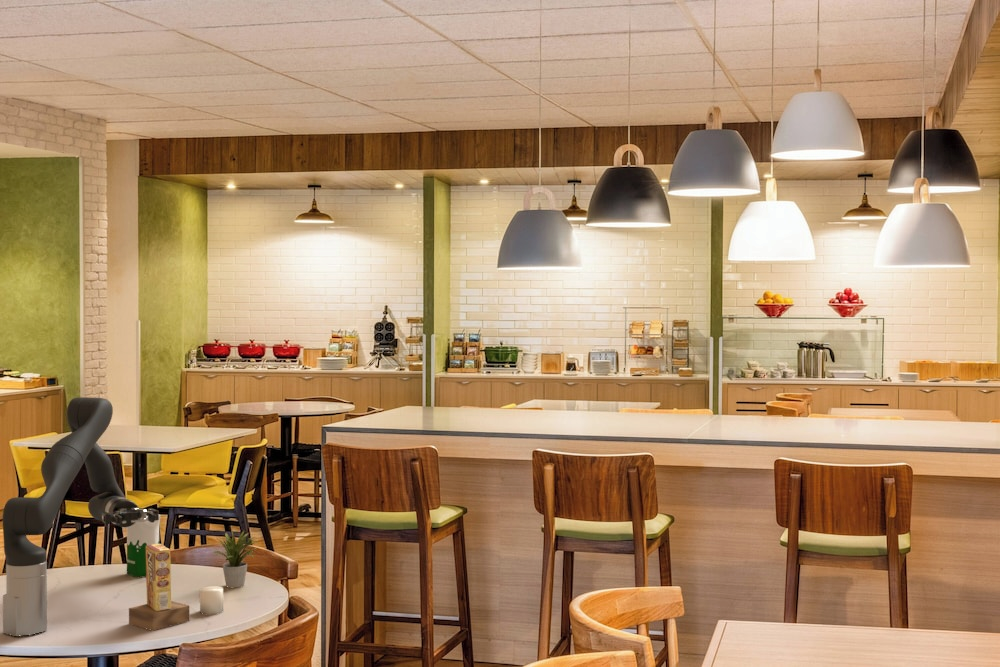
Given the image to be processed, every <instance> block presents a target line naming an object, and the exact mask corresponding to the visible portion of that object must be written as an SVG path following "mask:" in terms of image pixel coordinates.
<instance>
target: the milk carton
mask: <svg viewBox="0 0 1000 667" xmlns="http://www.w3.org/2000/svg"><path fill="white" fill-rule="evenodd" d="M138 508H139V509H144V508H143V507H138ZM161 516H162V515H161V514H159V520H156V521H154V522H152V523H151V522H149V521H146V522H135V523H134V524H133V525H132V526H129V527H126V575H129V576H132V577H136V578H138V577H139V578H143V577H142V576H145V577H146V545H154V544H160V523H161ZM146 517H147V518H148V516H146Z"/></svg>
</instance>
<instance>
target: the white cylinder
mask: <svg viewBox="0 0 1000 667" xmlns="http://www.w3.org/2000/svg"><path fill="white" fill-rule="evenodd" d="M222 611H223V612H224V587H222V586H216V585H215V586H204V587H201V588H200V589H199V613H200V612H201V613H203V614H202V615H206V614H213V615H218V614H217V613H219V614H222V613H223V612H222ZM221 612H222V613H221ZM201 613H200V614H201Z"/></svg>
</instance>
